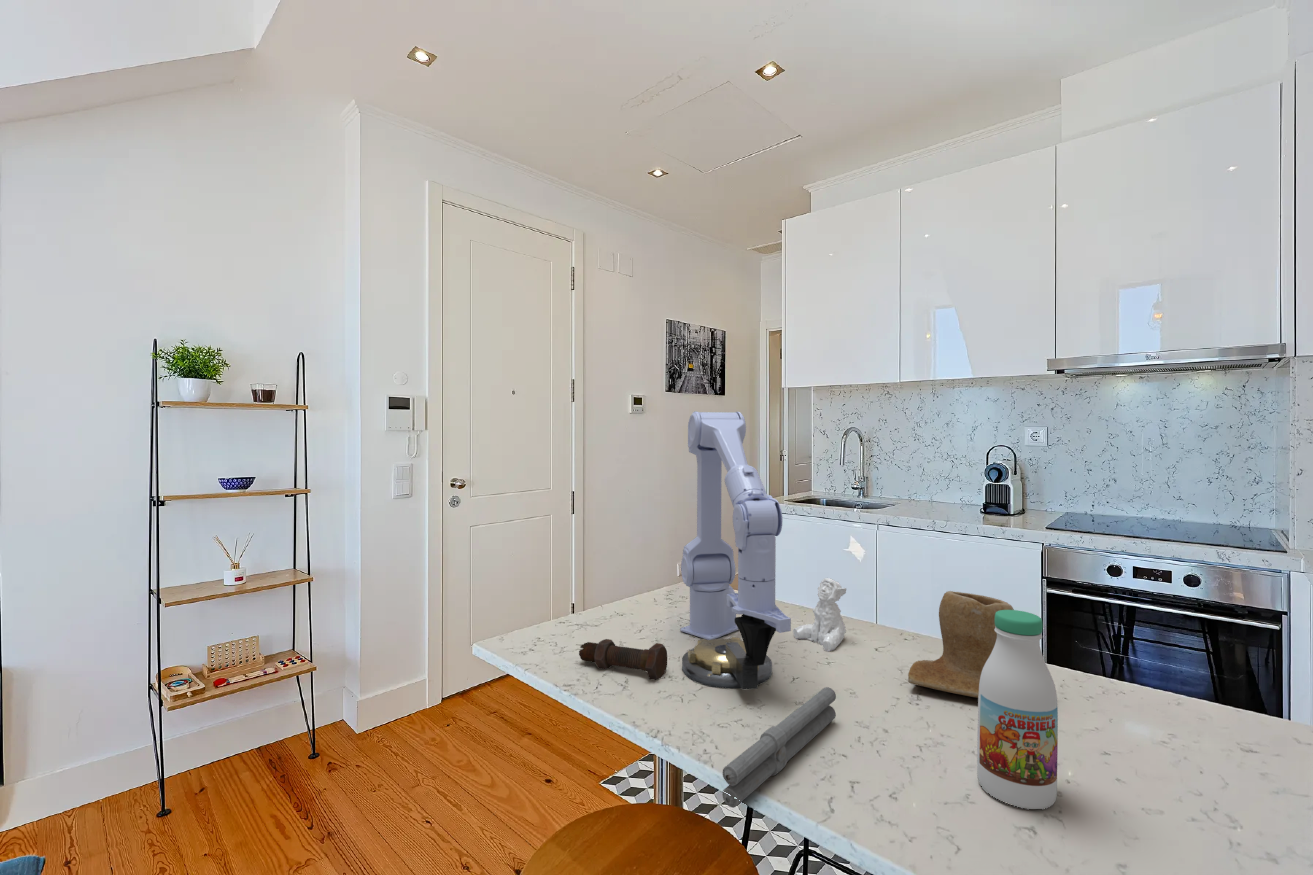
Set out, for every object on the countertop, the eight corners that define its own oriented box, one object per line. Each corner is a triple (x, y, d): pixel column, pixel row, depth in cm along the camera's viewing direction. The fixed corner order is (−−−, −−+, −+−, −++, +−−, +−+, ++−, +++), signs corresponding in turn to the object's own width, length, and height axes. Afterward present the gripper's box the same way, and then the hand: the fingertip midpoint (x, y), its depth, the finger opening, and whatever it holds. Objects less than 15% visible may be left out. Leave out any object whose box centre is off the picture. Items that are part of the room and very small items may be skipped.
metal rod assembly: (819, 717, 85) (819, 682, 85) (838, 724, 83) (838, 688, 83) (716, 806, 65) (716, 761, 65) (738, 817, 64) (738, 770, 63)
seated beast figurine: (790, 637, 117) (790, 575, 117) (821, 629, 122) (821, 570, 121) (828, 653, 109) (829, 587, 109) (860, 643, 114) (860, 580, 113)
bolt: (585, 670, 106) (664, 683, 99) (571, 665, 102) (652, 678, 95) (593, 636, 108) (670, 647, 102) (579, 630, 104) (658, 640, 98)
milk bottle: (962, 772, 72) (965, 605, 71) (1024, 769, 72) (1026, 603, 72) (1005, 814, 64) (1008, 627, 63) (1074, 810, 65) (1077, 625, 64)
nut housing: (719, 645, 112) (719, 637, 112) (789, 668, 102) (789, 659, 102) (663, 669, 102) (663, 659, 102) (735, 697, 91) (735, 686, 91)
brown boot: (1018, 684, 96) (1019, 590, 96) (1022, 716, 85) (1023, 611, 85) (914, 666, 103) (915, 578, 103) (906, 693, 93) (908, 596, 92)
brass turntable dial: (681, 648, 107) (682, 625, 107) (753, 644, 109) (753, 622, 108) (706, 696, 88) (706, 668, 88) (792, 690, 90) (792, 663, 90)
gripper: (710, 569, 99) (710, 652, 99) (762, 591, 85) (762, 687, 86) (747, 565, 102) (746, 645, 102) (802, 586, 88) (802, 678, 89)
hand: (756, 663), depth 94 cm, fingers closed
